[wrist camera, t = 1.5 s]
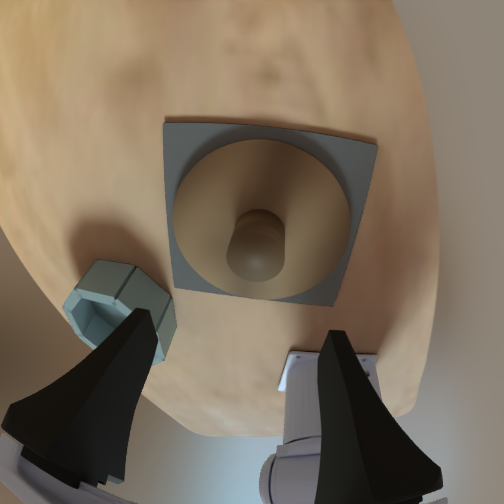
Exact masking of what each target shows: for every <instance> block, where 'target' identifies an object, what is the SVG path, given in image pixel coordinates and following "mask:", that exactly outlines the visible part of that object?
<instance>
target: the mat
mask: <svg viewBox="0 0 504 504" xmlns="http://www.w3.org/2000/svg"><path fill="white" fill-rule="evenodd" d="M247 139H272V140H278V141H283V142H286V143H289V144H292V145H295V146H297V147H299V148H301V149H304V150H306V151H307V152H309V153H310V154H312V155H313V156H315V157H316V158H318V159H319V160H320V161H321V162H322V163H323V164H324V165H325V166H326V167H327V168H328V169H329V170H330V171H331V173H332V174H333V175H334V176H335V178H336V180H337V181H338V183H339V184H340V186H341V188H342V190H343V192H344V195H345V197H346V199H347V203H348V207H349V211H350V220H351V227H350V236H349V241H348V245H347V247H346V250H345V253H344V255H343V256H342V258H341V260H340V262H339V263H338V265H337V266H336V267H335V269H334V270H333V271H332V272H331V273H330V274H329V275H328V276H327V277H326V278H325V279H324V280H322V281H321V282H320V283H319V284H317V285H315V286H314V287H312V288H310V289H308V290H306V291H304V292H302V293H299V294H297V295H294V296H290V297H286V298H280V299H269V300H271V301H280V302H289V303H299V304H309V305H320V306H331V307H333V305H334V302H335V299H336V296H337V293H338V291H339V288H340V285H341V282H342V279H343V276H344V273H345V270H346V267H347V264H348V260H349V257H350V254H351V251H352V247H353V244H354V241H355V237H356V234H357V231H358V227H359V223H360V220H361V216H362V212H363V209H364V205H365V201H366V197H367V193H368V189H369V185H370V181H371V176H372V172H373V168H374V163H375V158H376V154H377V149H378V145H376V144H371V143H367V142H362V141H358V140H353V139H348V138H343V137H338V136H332V135H326V134H320V133H314V132H308V131H301V130H293V129H285V128H277V127H267V126H256V125H244V124H228V123H201V122H166V123H163V156H164V180H165V197H166V211H167V223H168V235H169V245H170V254H171V263H172V271H173V279H174V287H175V288H180V289H187V290H194V291H201V292H208V293H215V294H222V295H230V296H237V295H233V294H231V293H228V292H225V291H223V290H221V289H219V288H217V287H215V286H214V285H212V284H211V283H209V282H208V281H206V280H205V279H204V278H202V277H201V276H200V275H199V274H198V273H197V272H196V271H195V270H194V269H193V268H192V267H191V266H190V264H189V263H188V262H187V261H186V259H185V258H184V256H183V254H182V253H181V251H180V248H179V246H178V244H177V241H176V238H175V235H174V230H173V223H172V212H173V205H174V200H175V197H176V194H177V191H178V189H179V187H180V185H181V183H182V181H183V180H184V178H185V177H186V175H187V174H188V172H189V171H190V170H191V169H192V168H193V167H194V166H195V165H196V164H197V163H198V162H199V161H200V160H201V159H203V158H204V157H205V156H206V155H208V154H209V153H211V152H212V151H214V150H216V149H218V148H219V147H222V146H224V145H227V144H229V143H233V142H236V141H240V140H247ZM237 297H240V296H237Z"/></svg>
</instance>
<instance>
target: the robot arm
mask: <svg viewBox="0 0 504 504" xmlns="http://www.w3.org/2000/svg"><path fill="white" fill-rule="evenodd" d="M158 341H159V340H158V337H157V333H156V330H155V327H154V323H153V320H152V317H151V313H150V310H148V309H142V308H137V307H136V308H135V309H134V310H133V311H132V312H131V313H130V314H129V315H128V316H127V317H126V318H125V319H124V320H123V321H122V322H121V324H120V325H119V326H118V327H117V328H116V329H115V330H114V331H113V332H112V333H111V334H110V335H109V336H108V337H107V338H106V339H105V340H104V341H103V342H102V343H101V344H100V345H99V346H98V347H97V348H95V349H94V350H93V351H92V352H91V353H90V354H89V355H88V356H87V357H86V358H85V359H83V360H82V361H81V362H80V363H79V364H77V365H76V366H75V367H74V368H73V369H71V370H70V371H69V372H67V373H66V374H65V375H63V376H62V377H60V378H59V379H58V380H56V381H55V382H53V383H52V384H50V385H48V386H47V387H45V388H43V389H42V390H40V391H38V392H36V393H35V394H32V395H31V396H29V397H26V398H24V399H22V400H20V401H17V402H15V403H13V404H11V405H10V406H9V408H8V410H7V413H6V415H5V417H4V419H3V422H2V424H1V427H2V429H3V430H5V431H6V432H7V433H8V434H9V435H11V436H12V437H13V438H15V439H16V440H17V441H19V442H20V443H22V444H23V445H24V446H23V445H22V444H20V443H18V442H17V441H15V440H14V439H13V438H11V437H10V436H8V435H7V434H6V433H2V435H1V438H0V481H1V482H2V483H3V484H4V485H6V486H7V487H8V488H9V489H10V490H11V491H12V492H13V493H14V494H15V495H16V496H17V497H18V498H19V499H20V500H21V501H22V502H23V503H25V504H137V503H134V502H131V501H129V500H126V499H123V498H121V497H118V496H115V495H113V494H111V493H108V492H106V491H103V490H101V489H99V488H97V484H98V483H100V484H103V485H105V484H106V481H107V480H108V481H111V482H114V483H117V484H120V483H122V482H124V476H125V462H126V454H127V446H128V441H129V435H130V430H131V425H132V421H133V416H134V412H135V409H136V405H137V402H138V400H139V397H140V394H141V392H142V389H143V387H144V384H145V381H146V379H147V376H148V374H149V371H150V368H151V366H152V363H153V360H154V357H155V353H156V349H157V345H158ZM377 359H378V358H377V355H360V354H355V352H354V350H353V348H352V345H351V343H350V341H349V339H348V337H347V335H346V333H345V331H340V330H329V332H328V335H327V337H326V340H325V342H324V345H323V347H322V349H321V352H320V353H313V352H299V351H291V352H290V353H289V354H288V357H287V360H286V364H285V367H284V370H283V373H282V376H281V379H280V383H279V386H278V390H279V391H286V394H285V417H284V435H283V445H278V446H277V452H276V453H275V454H272V455H270V456H269V457H268V459H267V460H266V461H265V462H264V464H263V466H262V469H261V473H260V479H259V490H260V496H261V499H262V501H263V503H264V504H419V502H422V500H423V498H422V495H425V494H428V493H431V492H434V491H437V490H439V489H441V488H442V487H443V479H442V472H441V468H440V467H439V466H438V465H437V464H436V463H434V462H433V461H432V460H431V459H430V458H429V457H428V456H427V455H426V454H424V453H423V452H422V451H421V450H420V449H419V447H417V446H416V445H415V444H414V442H413V441H412V440H411V439H410V438H409V436H408V435H407V434H406V433H405V432H404V431H403V430H402V428H401V427H400V426H399V425H398V423H397V422H396V421H395V419H394V418H393V417H392V415H391V414H390V412H389V411H388V410H387V408H386V407H385V405H384V404H383V402H382V398H381V392H380V387H379V381H378V376H377V371H376V366H375V362H376V361H377ZM427 504H448V499H447V498H446V497H445V498H442V499H439V500H436V501H433V502H430V503H427Z"/></svg>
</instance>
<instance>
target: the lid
mask: <svg viewBox="0 0 504 504" xmlns="http://www.w3.org/2000/svg"><path fill="white" fill-rule="evenodd" d="M172 223H173V230H174V235H175V238H176V241H177V244H178V246H179V248H180V251H181V253H182V254H183V256H184V258H185V259H186V261H187V262H188V263H189V264H190V266H191V267H192V268H193V269H194V270H195V271H196V272H197V273H198V274H199V275H200V276H201V277H202V278H204V279H205V280H206V281H208V282H209V283H211V284H212V285H214V286H215V287H217V288H219V289H221V290H223V291H225V292H228V293H231V294H233V295H237V296H240V297H245V298H250V299H261V300H269V299H280V298H286V297H290V296H294V295H297V294H299V293H302V292H304V291H306V290H308V289H310V288H312V287H314V286H315V285H317V284H319V283H320V282H321V281H322V280H324V279H325V278H326V277H327V276H328V275H329V274H330V273H331V272H332V271H333V270H334V269H335V267H336V266H337V265H338V263H339V262H340V260H341V258H342V256H343V255H344V253H345V250H346V247H347V245H348V241H349V236H350V227H351V220H350V211H349V207H348V203H347V199H346V197H345V195H344V192H343V190H342V188H341V186H340V184H339V183H338V181H337V180H336V178H335V176H334V175H333V174H332V173H331V171H330V170H329V169H328V168H327V167H326V166H325V165H324V164H323V163H322V162H321V161H320V160H319V159H318V158H316V157H315V156H313V155H312V154H310V153H309V152H307V151H306V150H304V149H301V148H299V147H297V146H295V145H292V144H289V143H286V142H283V141H278V140H272V139H247V140H240V141H236V142H233V143H229V144H227V145H224V146H222V147H219V148H218V149H216V150H214V151H212V152H211V153H209V154H208V155H206V156H205V157H204V158H203V159H201V160H200V161H199V162H198V163H197V164H196V165H195V166H194V167H193V168H192V169H191V170H190V171H189V172H188V174H187V175H186V177H185V178H184V180H183V181H182V183H181V185H180V187H179V189H178V191H177V194H176V197H175V200H174V205H173V212H172Z"/></svg>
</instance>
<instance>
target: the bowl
mask: <svg viewBox="0 0 504 504" xmlns="http://www.w3.org/2000/svg"><path fill="white" fill-rule="evenodd" d="M62 306H63V310H64V312H65V314H66V316H67V318H68V320H69V322H70V324H71V326H72V328H73V330H74V332H75V334H76V335H78V337H79V338H80V339H81V340H83V341H84V342H85V343H86V344H88V345H89V346H90V347H92V348H93V349H95V348H97V347H98V346H99V345H100V344H101V343H102V342H103V341H104V340H105V339H106V338H107V337H108V336H109V335H110V334H111V333H112V332H113V331H114V330H115V329H116V328H117V327H118V326H119V325H120V324H121V322H122V321H123V320H124V319H125V318H126V317H127V316H128V315H129V314H130V313H131V312H132V311H133V310H134V309H135V308H136V307H137V308H142V309H148V310H150V313H151V317H152V320H153V323H154V327H155V330H156V333H157V337H158V340H159V341H158V345H157V349H156V353H155V357H154V360H153V363H152V366H153V365H155V364H158V363H160V362H162V361H164V360H165V357H166V355H167V352H168V349H169V346H170V344H171V341H172V338H173V336H174V333H175V330H176V328H177V324H176V318H175V312H174V306H173V300H172V298H170V295H169V294H168V293H167V292H166V291H165V290H163V289H162V288H161V287H160V286H159V285H158V284H157V283H155V282H154V281H153V280H152V279H151V278H150V277H149V276H147V275H146V274H145V273H144V272H143V271H142V270H141V269H140V268H139V267H137V268H136V269H135V265H130V264H124V263H117V262H111V261H105V260H98V261H97V260H96V262H95V263H94V264H93V265H92V266H91V268H90V269H89V270H88V271H87V272H86V274H85V275H84V276H83V277H82V279H81V280H80V281H79V283H78V284H77V285H76V286H75V288H74V289H73V290H72V292H71V293H70V295H69V296H68V298H67V299H66V301H65V302H64V304H63V305H62Z"/></svg>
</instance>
